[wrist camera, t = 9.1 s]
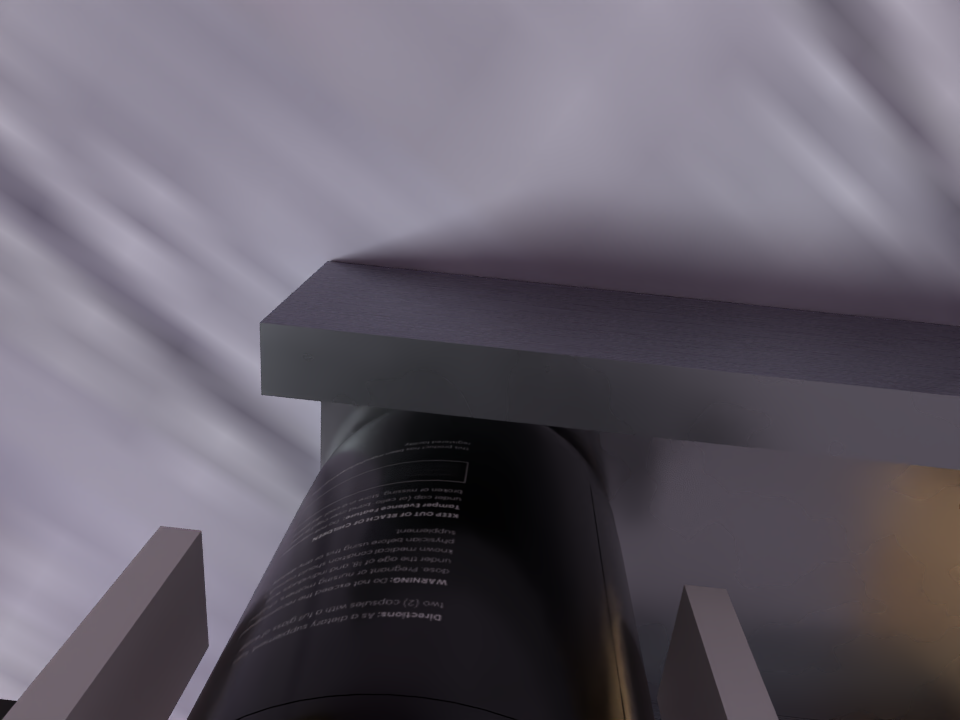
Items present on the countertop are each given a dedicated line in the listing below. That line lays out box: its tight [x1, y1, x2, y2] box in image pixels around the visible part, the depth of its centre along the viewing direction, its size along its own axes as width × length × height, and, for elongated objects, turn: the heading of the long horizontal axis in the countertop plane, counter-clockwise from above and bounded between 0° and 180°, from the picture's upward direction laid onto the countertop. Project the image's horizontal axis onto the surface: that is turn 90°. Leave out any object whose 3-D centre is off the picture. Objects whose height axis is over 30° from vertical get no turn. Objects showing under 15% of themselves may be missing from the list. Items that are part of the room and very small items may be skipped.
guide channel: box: [260, 261, 960, 720], centre depth 14 cm, size 17×11×6 cm, turn 85°
